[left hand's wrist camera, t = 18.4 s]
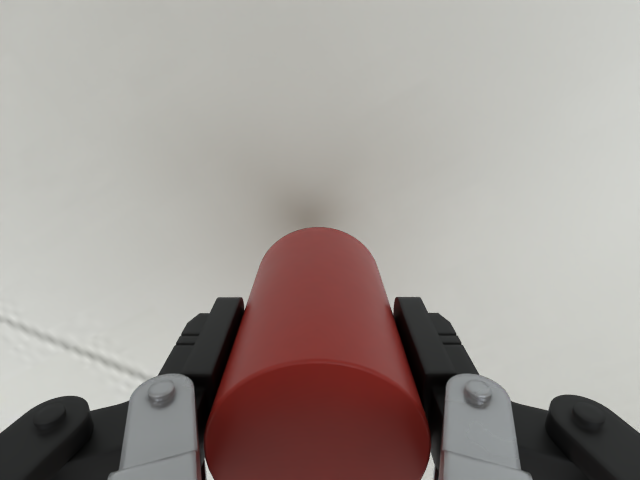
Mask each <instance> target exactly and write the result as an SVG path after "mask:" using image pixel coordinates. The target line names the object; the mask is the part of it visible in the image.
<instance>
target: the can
mask: <svg viewBox="0 0 640 480" xmlns="http://www.w3.org/2000/svg"><path fill="white" fill-rule="evenodd" d="M430 450H431V434H430V429H429V424H428V421H427V418H426V415H425V412H424V409H423V406H422V402H421V399H420V396H419V393H418V390H417V387H416V384H415V381H414V378H413V375H412V372H411V369H410V366H409V363H408V359H407V356H406V353H405V350H404V347H403V344H402V341H401V338H400V335H399V332H398V329H397V326H396V323H395V320H394V316H393V313H392V310H391V307H390V304H389V301H388V298H387V295H386V292H385V289H384V286H383V283H382V280H381V277H380V273H379V270H378V267H377V265H376V262H375V260H374V258H373V256H372V255H371V253H370V252H369V251H368V249H367V248H366V247H365V246H364V245H363V244H362V243H361V242H360V241H358V240H357V239H356V238H354V237H352V236H351V235H349V234H347V233H345V232H342V231H340V230H336V229H332V228H325V227H312V228H305V229H301V230H297V231H295V232H292V233H290V234H288V235H286V236H284V237H282V238H281V239H280V240H278V241H277V242H276V243H275V244H274V245H273V246H272V247H271V248H270V249H269V250H268V251H267V253H266V254H265V256H264V258H263V259H262V261H261V264H260V266H259V269H258V272H257V275H256V278H255V281H254V284H253V287H252V290H251V293H250V296H249V299H248V302H247V305H246V308H245V311H244V314H243V317H242V320H241V323H240V326H239V328H238V331H237V334H236V337H235V340H234V343H233V346H232V349H231V352H230V355H229V358H228V361H227V364H226V367H225V370H224V373H223V376H222V379H221V382H220V385H219V388H218V391H217V394H216V396H215V399H214V402H213V405H212V408H211V411H210V414H209V417H208V420H207V423H206V428H205V432H204V452H205V459H206V462H207V465H208V468H209V471H210V473H211V474H212V476H213V478H214V480H421V478H422V476H423V474H424V472H425V470H426V467H427V464H428V461H429V457H430Z"/></svg>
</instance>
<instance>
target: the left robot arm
mask: <svg viewBox="0 0 640 480" xmlns="http://www.w3.org/2000/svg"><path fill="white" fill-rule="evenodd" d="M243 314H244V302H243V299H242V297H218V298H217V299H216V301H215V303H214V306H213V308H212V310H211V312H210V313H200V314H198V315H197V316H196V317H194V318H193V319H192V320H191V321H189V322H188V323H187V325H186V327H185V328H184V330H183V332H182V334H181V336H180V337H179V339H178V341H177V343H176V345H175V346H174V348H173V350H172V351H171V353H170V355H169V357H168V358H167V360H166V362H165V364H164V365H163V367H162V369H161V371H160V373H159V374H158V376H156V377H154V378H151V379H149V380H147V381H146V382H144V383H142V384H141V385H140V386H139V387H138V388H137V389H136V390H135V391H134V392H133V393H132V395H131V397H130V400H129V401H127V402H124V403H121V404H118V405H114V406H110V407H106V408H101V409H97V410H93V411H90V409H89V406H88V403H87V402H86V400H84V399H83V398H81V397H77V396H63V397H58V398H54V399H51V400H48V401H46V402H43V403H41V404H39V405H37V406H36V407H34V408H32V409H31V410H29V411H28V412H27V413H25V414H24V415H23V416H21V417H20V418H19V419H18V420H16V421H15V422H14V423H13V424H11V425H10V426H9V427H8V428H6V429H5V430H4V431H3V432H1V433H0V480H207V475H206V467H205V460H204V459H205V452H204V432H205V428H206V423H207V420H208V417H209V414H210V411H211V408H212V405H213V402H214V399H215V396H216V394H217V391H218V388H219V385H220V382H221V379H222V376H223V373H224V370H225V367H226V364H227V361H228V358H229V355H230V352H231V349H232V346H233V343H234V340H235V337H236V334H237V331H238V328H239V326H240V323H241V320H242V317H243ZM393 316H394V320H395V323H396V326H397V329H398V332H399V335H400V338H401V341H402V344H403V347H404V350H405V353H406V356H407V359H408V363H409V366H410V369H411V372H412V375H413V378H414V381H415V384H416V387H417V390H418V393H419V396H420V399H421V402H422V406H423V409H424V412H425V415H426V418H427V421H428V424H429V429H430V434H431V450H430V451H431V454H432V457H433V461H434V464H435V466H434V474H433V480H640V433H639V432H637V431H636V430H635V429H634V428H632V427H631V426H630V425H629V424H627V423H626V422H625V421H624V420H622V419H621V418H620V417H619V416H617V415H616V414H615V413H614V412H612V411H611V410H609V409H608V408H607V407H605V406H603V405H602V404H600V403H598V402H596V401H593V400H591V399H588V398H585V397H581V396H577V395H560V396H557V397H555V398H554V399H553V400H552V401H551V403H550V407H549V410H548V411H547V410H543V409H539V408H534V407H530V406H526V405H522V404H518V403H514V402H512V401H511V400H510V397H509V395H508V393H507V392H506V391H505V390H504V389H503V388H502V387H501V386H500V385H499V384H498V383H496V382H494V381H493V380H491V379H489V378H486V377H484V376H481V375H479V373H478V372H477V370H476V368H475V366H474V364H473V363H472V361H471V359H470V357H469V355H468V354H467V352H466V350H465V348H464V347H463V345H461V341H460V339H459V338H458V336H456V332H455V330H454V329H453V327H452V325H451V323H450V322H449V321H448V320H446V319H445V318H444V317H442V316H441V315H440V314H439V313H428V312H427V310H426V308H425V306H424V304H423V301H422V299H421V298H420V297H396V298H395V302H394V313H393Z"/></svg>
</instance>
